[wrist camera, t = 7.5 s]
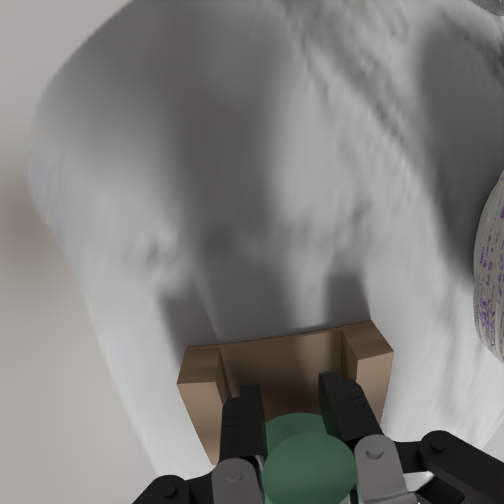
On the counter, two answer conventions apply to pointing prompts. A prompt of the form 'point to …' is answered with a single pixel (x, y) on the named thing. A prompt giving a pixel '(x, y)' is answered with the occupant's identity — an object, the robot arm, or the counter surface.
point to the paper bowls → (490, 273)
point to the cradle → (281, 374)
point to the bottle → (305, 462)
